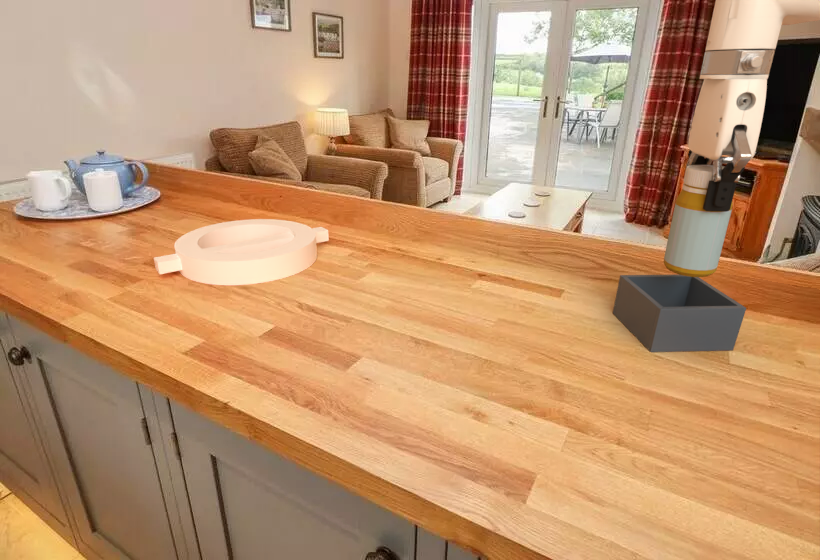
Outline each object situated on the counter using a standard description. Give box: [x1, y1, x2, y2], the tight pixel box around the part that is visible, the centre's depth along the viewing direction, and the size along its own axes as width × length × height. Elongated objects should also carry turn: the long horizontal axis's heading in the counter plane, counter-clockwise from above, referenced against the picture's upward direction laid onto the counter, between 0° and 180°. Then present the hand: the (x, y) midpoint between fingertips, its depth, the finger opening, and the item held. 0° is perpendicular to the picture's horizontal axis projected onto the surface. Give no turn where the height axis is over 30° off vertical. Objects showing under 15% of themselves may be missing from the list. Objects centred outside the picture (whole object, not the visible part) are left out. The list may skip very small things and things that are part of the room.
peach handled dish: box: [153, 218, 330, 286], centre depth 103 cm, size 28×28×5 cm
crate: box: [612, 273, 747, 353], centre depth 76 cm, size 13×13×7 cm
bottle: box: [663, 164, 734, 278], centre depth 70 cm, size 7×7×15 cm
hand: (703, 202), depth 69 cm, fingers closed on bottle, 7 cm apart
